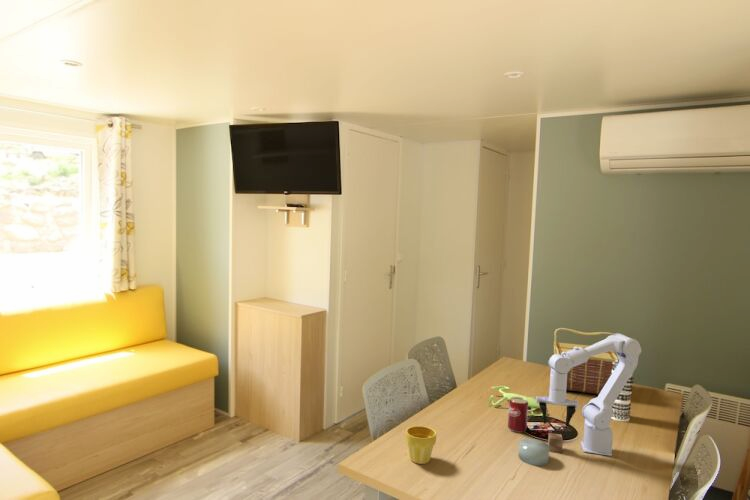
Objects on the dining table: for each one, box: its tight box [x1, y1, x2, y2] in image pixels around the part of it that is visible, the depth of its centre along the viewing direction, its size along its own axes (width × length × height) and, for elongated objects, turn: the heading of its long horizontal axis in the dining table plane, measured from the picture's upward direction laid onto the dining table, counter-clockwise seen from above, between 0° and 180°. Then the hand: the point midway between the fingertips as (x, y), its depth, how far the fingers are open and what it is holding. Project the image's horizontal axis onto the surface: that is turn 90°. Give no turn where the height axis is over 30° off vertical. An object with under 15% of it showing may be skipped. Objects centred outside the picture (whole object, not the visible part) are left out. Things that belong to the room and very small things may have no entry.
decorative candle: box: [610, 359, 634, 422], centre depth 206 cm, size 9×9×25 cm
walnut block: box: [547, 432, 564, 454], centre depth 175 cm, size 4×4×5 cm
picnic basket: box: [553, 327, 618, 395], centre depth 242 cm, size 29×26×30 cm
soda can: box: [507, 397, 529, 434], centre depth 191 cm, size 7×7×12 cm
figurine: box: [487, 385, 543, 417], centre depth 217 cm, size 18×27×6 cm
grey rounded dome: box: [518, 438, 550, 467], centre depth 168 cm, size 10×10×5 cm
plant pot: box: [405, 425, 437, 465], centre depth 164 cm, size 10×10×10 cm
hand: (555, 424), depth 175 cm, fingers open, 7 cm apart
